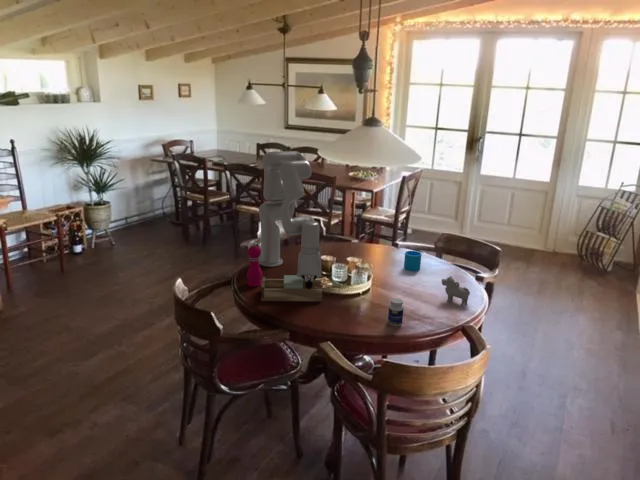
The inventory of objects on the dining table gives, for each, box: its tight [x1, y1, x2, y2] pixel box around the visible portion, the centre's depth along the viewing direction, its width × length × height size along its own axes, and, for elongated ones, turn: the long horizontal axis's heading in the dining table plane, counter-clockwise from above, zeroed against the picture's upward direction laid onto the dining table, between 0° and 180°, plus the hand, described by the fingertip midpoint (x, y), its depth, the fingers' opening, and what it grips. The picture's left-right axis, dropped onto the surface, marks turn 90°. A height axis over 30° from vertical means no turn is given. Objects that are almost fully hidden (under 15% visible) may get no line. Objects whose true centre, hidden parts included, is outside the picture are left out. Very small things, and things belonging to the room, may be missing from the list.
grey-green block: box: [283, 274, 303, 289], centre depth 230 cm, size 9×8×6 cm
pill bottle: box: [387, 297, 404, 327], centre depth 207 cm, size 6×6×10 cm
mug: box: [403, 250, 422, 272], centre depth 267 cm, size 12×8×8 cm
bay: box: [260, 276, 323, 302], centre depth 230 cm, size 12×26×6 cm, turn 93°
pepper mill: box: [246, 242, 264, 288], centre depth 239 cm, size 7×7×20 cm
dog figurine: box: [441, 276, 471, 307], centre depth 229 cm, size 5×13×11 cm, turn 54°
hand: (308, 289), depth 231 cm, fingers closed
